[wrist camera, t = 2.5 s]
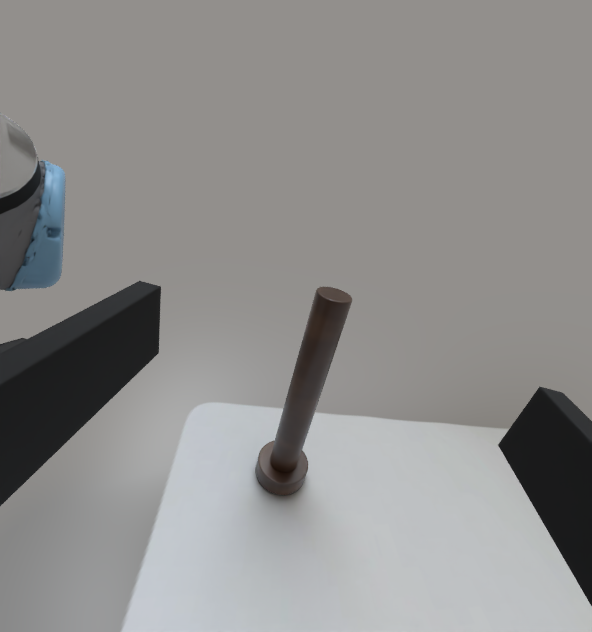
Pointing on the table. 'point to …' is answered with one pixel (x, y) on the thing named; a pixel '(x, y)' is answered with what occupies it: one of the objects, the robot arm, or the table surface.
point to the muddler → (304, 394)
